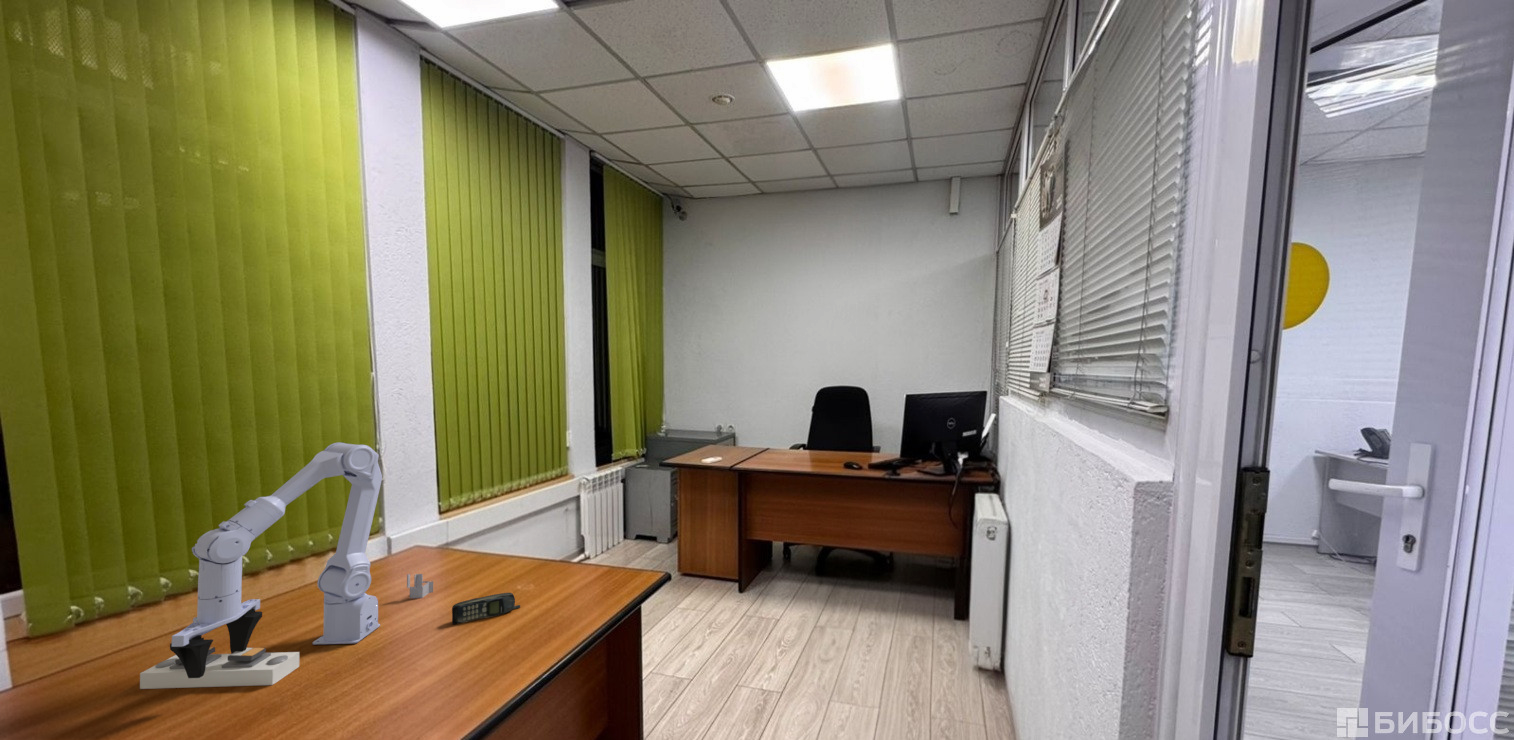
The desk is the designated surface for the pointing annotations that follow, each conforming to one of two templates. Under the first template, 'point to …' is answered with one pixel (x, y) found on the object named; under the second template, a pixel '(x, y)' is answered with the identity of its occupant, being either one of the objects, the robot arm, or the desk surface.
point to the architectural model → (419, 586)
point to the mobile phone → (483, 607)
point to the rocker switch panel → (222, 672)
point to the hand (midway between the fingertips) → (217, 664)
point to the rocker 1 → (207, 655)
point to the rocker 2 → (247, 654)
